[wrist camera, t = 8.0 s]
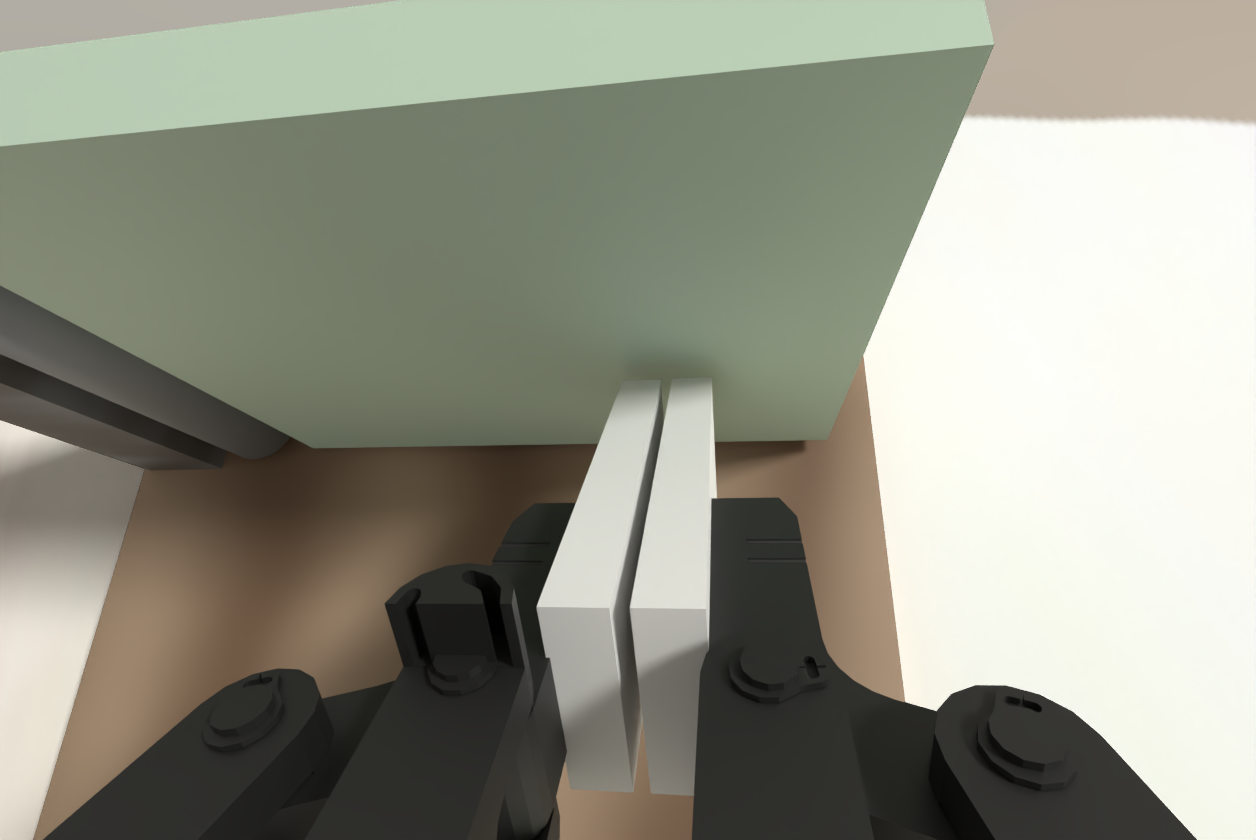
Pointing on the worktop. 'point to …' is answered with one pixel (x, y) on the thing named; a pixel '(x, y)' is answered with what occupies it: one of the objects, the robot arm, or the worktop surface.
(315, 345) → the gate
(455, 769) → the robot arm
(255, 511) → the wooden stand
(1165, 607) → the worktop surface
